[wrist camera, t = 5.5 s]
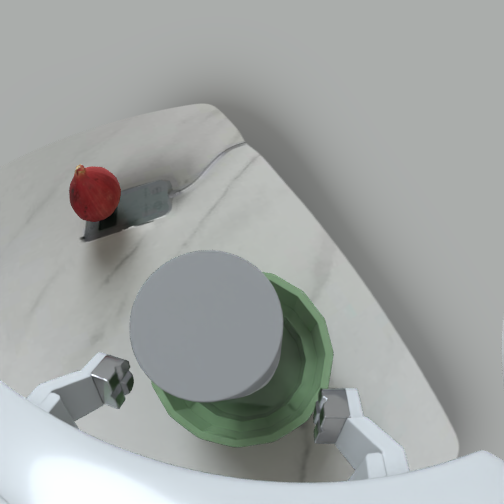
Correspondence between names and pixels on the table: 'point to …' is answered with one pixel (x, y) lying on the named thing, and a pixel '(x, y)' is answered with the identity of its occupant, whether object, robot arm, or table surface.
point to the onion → (94, 193)
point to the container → (207, 327)
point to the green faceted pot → (276, 391)
